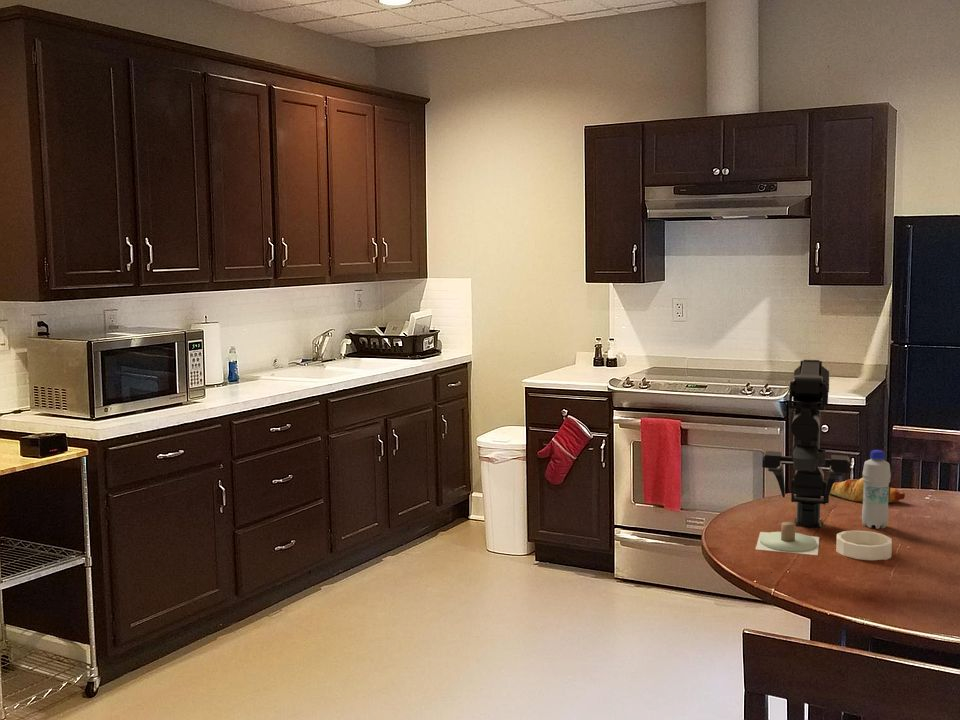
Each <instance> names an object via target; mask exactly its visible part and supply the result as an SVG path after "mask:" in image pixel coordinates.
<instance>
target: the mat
mask: <svg viewBox="0 0 960 720" xmlns="http://www.w3.org/2000/svg"><path fill="white" fill-rule="evenodd" d="M766 533H769V532H767V531H760V532H759V535H758V538H757V542H756V545H755V550H757V551H767V552H779V553H789V554H799V555H808V556H809V555H812V556H819V545H820V536H811V535H809V536H810V537H812V538H814V539H815V540H816V547H815V548H814V549H812V550H808V551H802V552H788V551H779V550H775V549H771V548H768V547H766V546H764V545H762V544H761V543H760V537H761V536H762V535H763V534H766Z"/></svg>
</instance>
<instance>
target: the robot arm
mask: <svg viewBox="0 0 960 720" xmlns="http://www.w3.org/2000/svg"><path fill="white" fill-rule="evenodd" d="M829 393H830V371H829V370H828V369H827V368H826V367H824V366H823V361H822V360H819V359H803V360H800V365H799V366H798V367H797V368H795V369H794V370H793V381H790V382H789V393H788V394H789V396H788V409H789V410H794V411H793V418H792V421H791V426H790V429H791V432H792V436H793V437H792V440H793V441H792V449H791V456H790V455H789V456H787V455H786V456H785V455H782V451H774V450H773V451H772V450H771V451H770V450H766V451H765V452H764V453H763V455H762V464H761V467H762V468H764V469H767V470H768V472H772V473H773V475H774V477H775V478H776V481H777V484H778V487H779V489H780V490H779V491H780V492H781V496H782V498H785V495H786V485H785V483H786V482H785V475H784V474H785V473H784V472H785V471H784V466H783V465H787V466H788V465H790V466H793V468H792V469H793V470H794V471H795V472H794V478H791V488H790V490H791V491H790V493H791V498H790V500H791V501H790V502H791V503H796V517H795V518H794V523H795V527H801V528H802V527H803V528H813V529H814V528H815V529H821V528H822V524H823V523H822V521H823V520H822V519H821V505H824V506H825V505H826V504H830V503H829V502H830V500H829V499H830V494H831V493H830V491H831V488H832V486H833V484H834V483H835V482H836V481H837V479H838V477H843V476H844V474H849V473H850V469H851V468H850V464H851V463H850V462H851V458H850V457H849V456H848V455H841V454H840V455H837V454H831V456H830V457H831V458H827V457H826V453H827V452H826V451H827V449H825V448H820V442H821V441H820V439H821V438H820V437H821V411H825V410H826V409H825V408H826V407H828V404H829ZM821 467H822V468H828V469H829V470H828V475H827V480H824V479H825V477H824V476H825V475H824V471H823V469H822V468H821Z"/></svg>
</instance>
